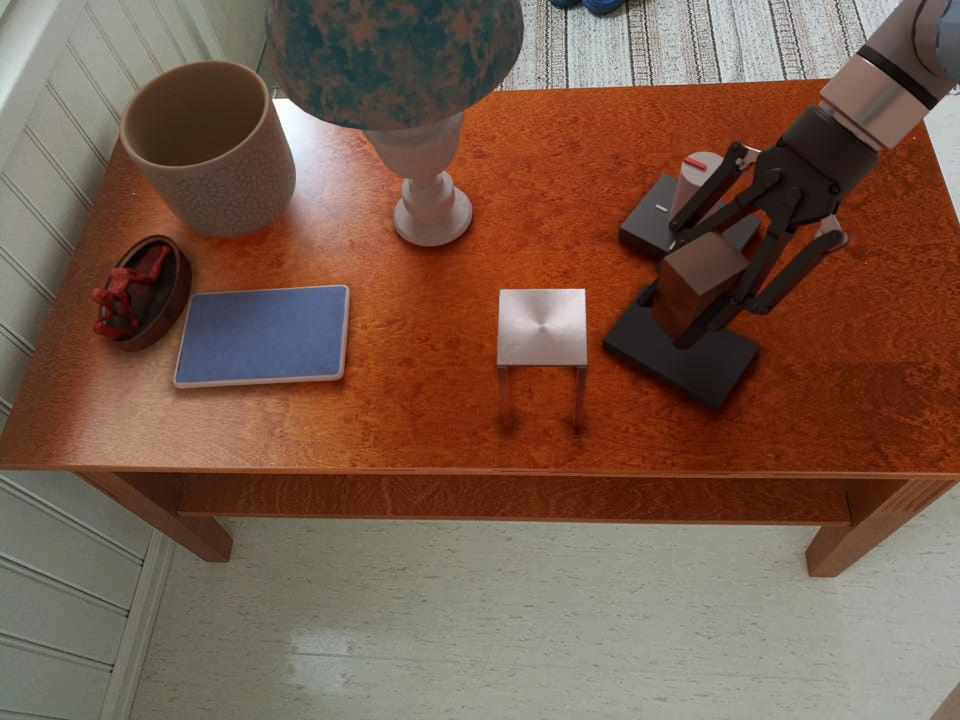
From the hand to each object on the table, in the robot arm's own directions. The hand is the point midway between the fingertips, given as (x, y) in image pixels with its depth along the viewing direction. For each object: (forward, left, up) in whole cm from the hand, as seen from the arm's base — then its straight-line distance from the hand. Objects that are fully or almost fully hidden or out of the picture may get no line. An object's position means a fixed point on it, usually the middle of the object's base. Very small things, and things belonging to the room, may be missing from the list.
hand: (662, 324), depth 72 cm
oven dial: (+6, -17, -6) cm, 19 cm away
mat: (-1, -3, -8) cm, 9 cm away
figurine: (+53, +27, -8) cm, 60 cm away
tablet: (+38, +22, -8) cm, 45 cm away
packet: (-1, -3, -2) cm, 4 cm away
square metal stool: (+8, +10, -8) cm, 15 cm away
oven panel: (+6, -17, -8) cm, 20 cm away
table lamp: (+33, -2, -8) cm, 34 cm away
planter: (+55, +10, -8) cm, 56 cm away
